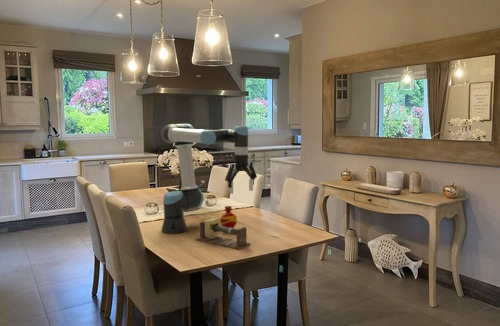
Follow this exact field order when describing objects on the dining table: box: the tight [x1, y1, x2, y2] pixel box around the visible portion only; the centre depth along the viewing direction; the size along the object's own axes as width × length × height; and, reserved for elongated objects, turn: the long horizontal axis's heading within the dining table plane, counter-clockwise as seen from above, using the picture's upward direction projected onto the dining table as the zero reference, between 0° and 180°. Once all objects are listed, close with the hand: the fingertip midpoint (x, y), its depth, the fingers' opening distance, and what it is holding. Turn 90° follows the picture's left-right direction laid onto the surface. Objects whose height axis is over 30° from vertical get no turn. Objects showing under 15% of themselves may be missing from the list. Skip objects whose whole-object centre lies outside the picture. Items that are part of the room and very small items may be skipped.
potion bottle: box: [220, 205, 238, 229], centre depth 242 cm, size 10×10×15 cm
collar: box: [204, 216, 222, 238], centre depth 224 cm, size 4×9×9 cm, turn 144°
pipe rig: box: [196, 220, 251, 251], centre depth 220 cm, size 30×10×10 cm, turn 54°
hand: (241, 192), depth 226 cm, fingers open, 13 cm apart
